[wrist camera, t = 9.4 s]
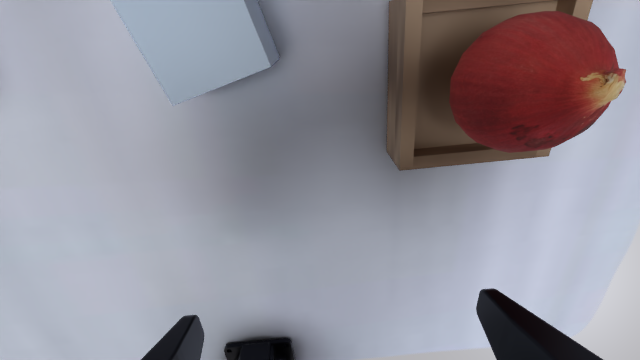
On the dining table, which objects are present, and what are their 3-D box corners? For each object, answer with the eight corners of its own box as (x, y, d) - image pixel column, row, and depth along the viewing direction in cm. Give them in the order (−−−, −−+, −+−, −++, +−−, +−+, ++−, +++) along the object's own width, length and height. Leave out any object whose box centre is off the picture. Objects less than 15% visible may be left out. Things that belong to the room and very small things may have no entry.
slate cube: (279, 57, 18) (270, 66, 13) (205, 87, 18) (172, 105, 14) (241, -39, 15) (215, -68, 11) (158, -2, 16) (101, -14, 12)
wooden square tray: (510, 136, 21) (548, 156, 18) (384, 148, 21) (399, 170, 18) (542, -13, 17) (599, -24, 14) (386, 2, 17) (406, -5, 14)
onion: (535, 103, 17) (714, 131, 10) (444, 150, 18) (549, 210, 10) (509, 3, 15) (711, -58, 8) (408, 60, 16) (506, 54, 8)
